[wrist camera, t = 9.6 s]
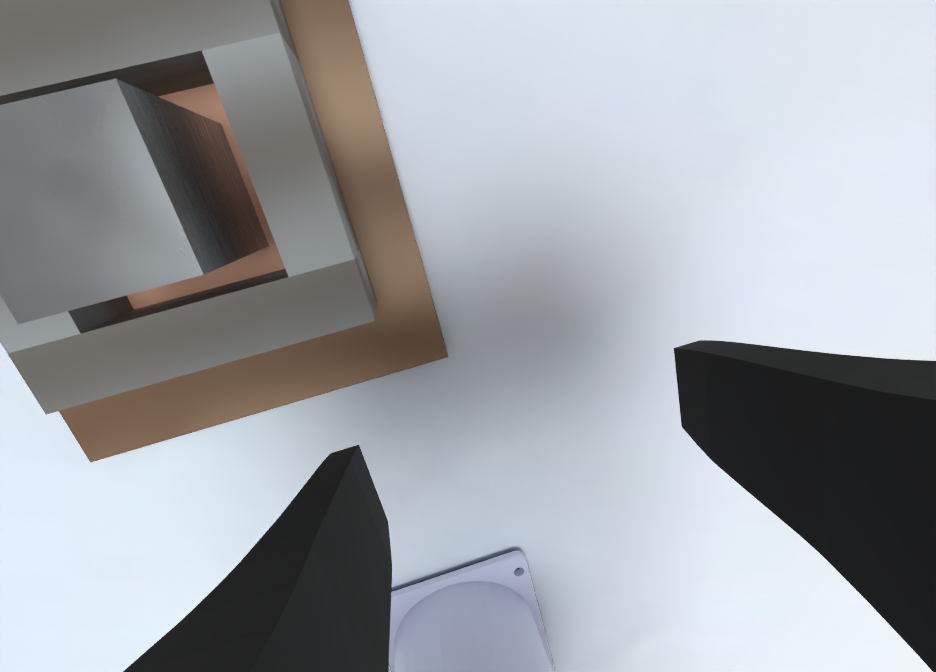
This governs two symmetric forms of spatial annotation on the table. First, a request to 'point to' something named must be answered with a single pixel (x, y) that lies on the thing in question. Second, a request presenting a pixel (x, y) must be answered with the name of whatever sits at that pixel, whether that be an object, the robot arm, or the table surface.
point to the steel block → (113, 198)
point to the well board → (277, 207)
